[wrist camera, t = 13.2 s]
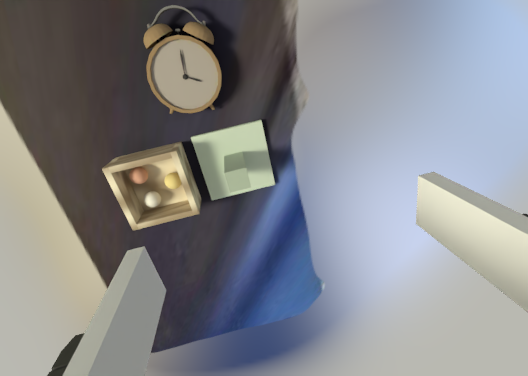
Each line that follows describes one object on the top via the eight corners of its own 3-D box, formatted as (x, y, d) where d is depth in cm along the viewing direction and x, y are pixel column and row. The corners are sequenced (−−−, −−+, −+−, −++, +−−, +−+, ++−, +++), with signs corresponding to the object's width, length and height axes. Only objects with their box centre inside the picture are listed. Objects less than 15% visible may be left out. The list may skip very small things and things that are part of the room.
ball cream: (143, 190, 50) (138, 197, 47) (159, 186, 50) (155, 193, 47) (149, 204, 51) (145, 212, 48) (164, 200, 51) (161, 208, 49)
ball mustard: (163, 172, 49) (160, 178, 46) (179, 168, 49) (177, 174, 46) (169, 186, 50) (166, 193, 48) (185, 182, 50) (183, 189, 48)
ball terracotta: (129, 167, 48) (123, 172, 45) (146, 162, 48) (141, 168, 45) (136, 181, 49) (131, 188, 46) (152, 177, 49) (148, 184, 46)
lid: (191, 136, 48) (184, 151, 39) (260, 119, 49) (269, 130, 40) (212, 197, 54) (209, 224, 45) (274, 182, 55) (284, 205, 45)
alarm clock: (157, 118, 44) (126, 7, 35) (162, 108, 48) (135, 7, 39) (226, 111, 45) (212, 3, 36) (225, 103, 49) (212, 3, 40)
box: (115, 157, 48) (101, 168, 42) (181, 141, 48) (176, 150, 43) (142, 213, 53) (133, 230, 47) (201, 198, 53) (199, 213, 48)
